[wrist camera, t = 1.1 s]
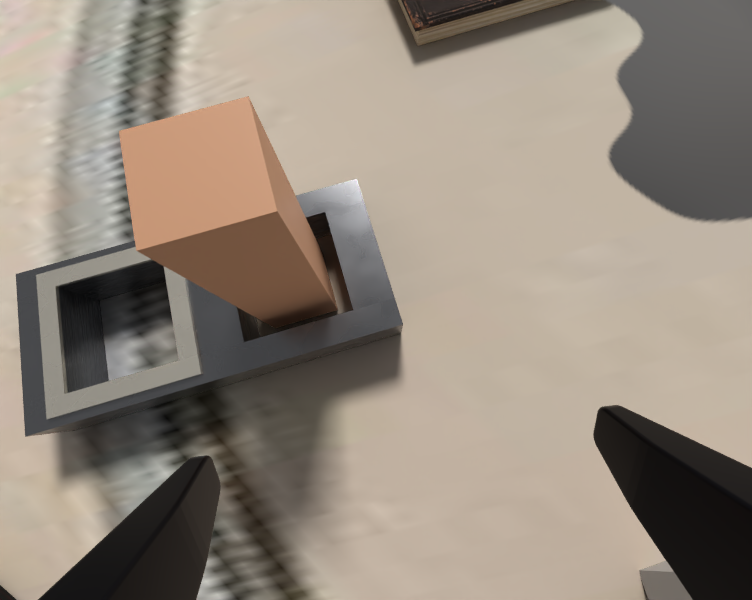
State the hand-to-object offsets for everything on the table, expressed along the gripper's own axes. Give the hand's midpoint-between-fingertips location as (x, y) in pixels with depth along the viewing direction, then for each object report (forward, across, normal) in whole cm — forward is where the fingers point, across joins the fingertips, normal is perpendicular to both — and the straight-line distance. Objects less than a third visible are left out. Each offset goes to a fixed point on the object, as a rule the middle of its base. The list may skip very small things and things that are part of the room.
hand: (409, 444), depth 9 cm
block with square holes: (+15, +9, +2) cm, 18 cm away
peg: (+16, +5, +2) cm, 16 cm away
